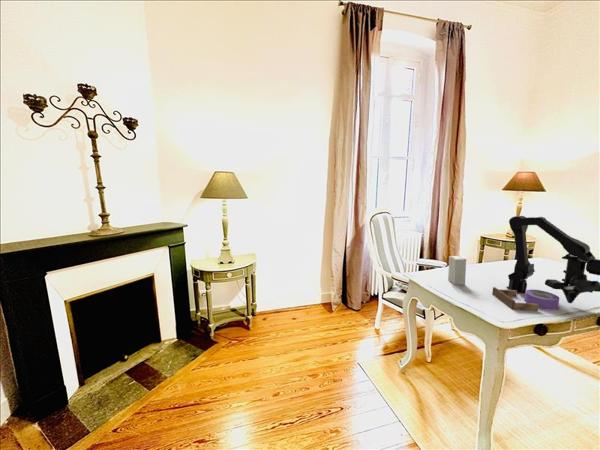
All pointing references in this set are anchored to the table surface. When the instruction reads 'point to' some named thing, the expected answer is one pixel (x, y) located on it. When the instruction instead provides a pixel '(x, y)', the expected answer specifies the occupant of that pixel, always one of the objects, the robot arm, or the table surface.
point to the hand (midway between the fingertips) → (569, 302)
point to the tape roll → (542, 299)
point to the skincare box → (457, 270)
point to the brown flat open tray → (504, 297)
